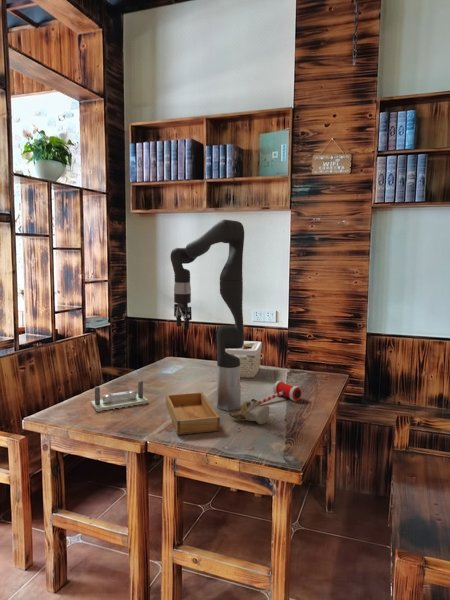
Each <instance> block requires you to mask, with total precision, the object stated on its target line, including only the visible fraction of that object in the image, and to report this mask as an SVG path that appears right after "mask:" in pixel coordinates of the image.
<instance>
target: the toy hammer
mask: <svg viewBox="0 0 450 600" xmlns="http://www.w3.org/2000/svg"><path fill="white" fill-rule="evenodd" d="M272 392H273V395H270V396H269V397H265V398H264V399H261V400H257V401H258V402H259V404H260V405H261V404H264V403H266V402H268V401H271V400H273V399H275V398H278V397H281V396H283V397H285V398H288V399H290V400H291V401H293V402H297V401H299V400H301V398H302V395H303V390H302V388H301V387H300V386H298V385H290V384H288V383H285V382H284V381H281V380H277V381H276V382H275V383H274V384H273V388H272Z"/></svg>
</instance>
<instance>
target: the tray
mask: <svg viewBox="0 0 450 600" xmlns="http://www.w3.org/2000/svg"><path fill="white" fill-rule="evenodd" d="M165 406H167V407H166V409H167V412H168V411H169V412H168V414H169V418H170V419H171V421H172V424H173V427H174V429H175V431H176V434H177V436H180V435H188V434H190V435H191V434H199V433H207V432H217V431H218V432H219V431H221V417H220V415H219V413H217V411H216V409H215V408H214V407H213V405H212V404H211V402H210V401H209V399H208V398H207V397H206V395H205V394H204V392H203V391H200V392H188V393H187V392H186V393H177V394H174V393H173V394H166V395H165Z"/></svg>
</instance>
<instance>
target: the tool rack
mask: <svg viewBox="0 0 450 600" xmlns="http://www.w3.org/2000/svg"><path fill="white" fill-rule="evenodd" d="M143 383H144V380H142V379H141V380H138V381H137V393H136V400H129V401H122V402H116V403H111V404H103V399H101V387H100V386H95V387H94V400H91V401H90V405H91V404H92V405H91V407H92V408H93V407H94V408H95V409H96V410H95V409H94V408H93V409H94V410H95V412H96V411H101V412H103V411H102V410H107V411H109V410H108V409H113V410H116V409H115V408H119V409H123V408H122V407H125V408H129V407H128V406H131V407H134V406H133V405H137V406H139V405H138V404H143V405H145V404H144V403H148V404H149V399H147V398H146V397H145V396H144V384H143Z"/></svg>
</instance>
